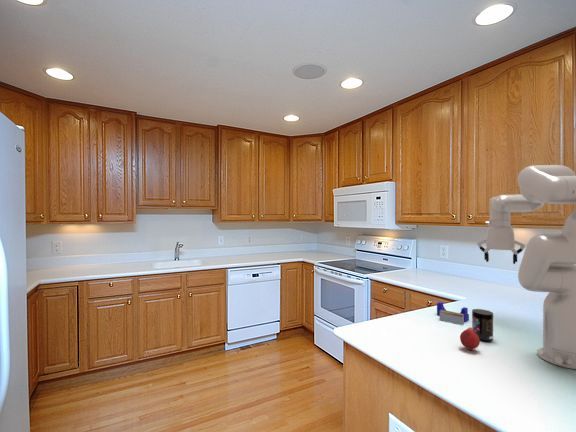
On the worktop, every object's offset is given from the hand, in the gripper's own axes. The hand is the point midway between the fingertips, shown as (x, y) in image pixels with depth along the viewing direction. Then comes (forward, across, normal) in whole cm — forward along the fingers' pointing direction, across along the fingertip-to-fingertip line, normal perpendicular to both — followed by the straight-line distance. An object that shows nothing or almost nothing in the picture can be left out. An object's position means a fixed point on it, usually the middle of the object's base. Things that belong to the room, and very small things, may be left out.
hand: (500, 262), depth 128 cm
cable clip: (+27, -18, -8) cm, 33 cm away
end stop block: (+26, -17, -14) cm, 34 cm away
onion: (+27, -7, -40) cm, 49 cm away
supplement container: (+27, -4, -26) cm, 38 cm away
